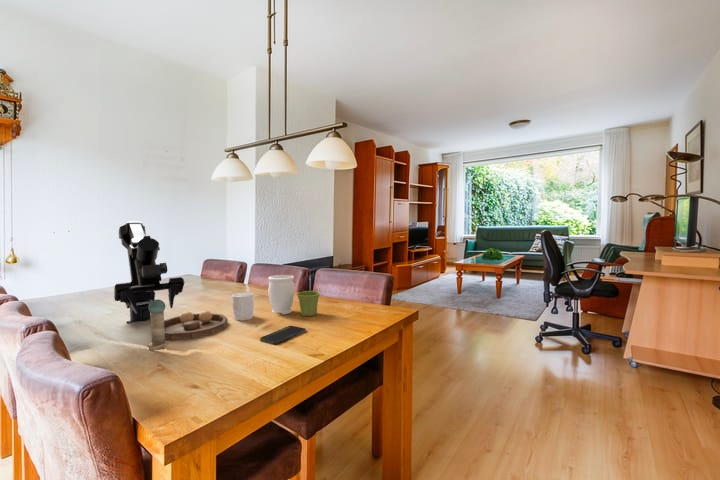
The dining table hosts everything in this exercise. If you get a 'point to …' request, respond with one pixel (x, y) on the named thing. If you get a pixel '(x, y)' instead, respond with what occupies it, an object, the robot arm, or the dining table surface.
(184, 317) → the loose bead
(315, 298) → the plant pot
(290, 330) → the phone
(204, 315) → the loose bead
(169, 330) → the walnut tray
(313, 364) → the dining table surface
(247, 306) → the white cup
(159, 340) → the bead post
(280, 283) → the jar
